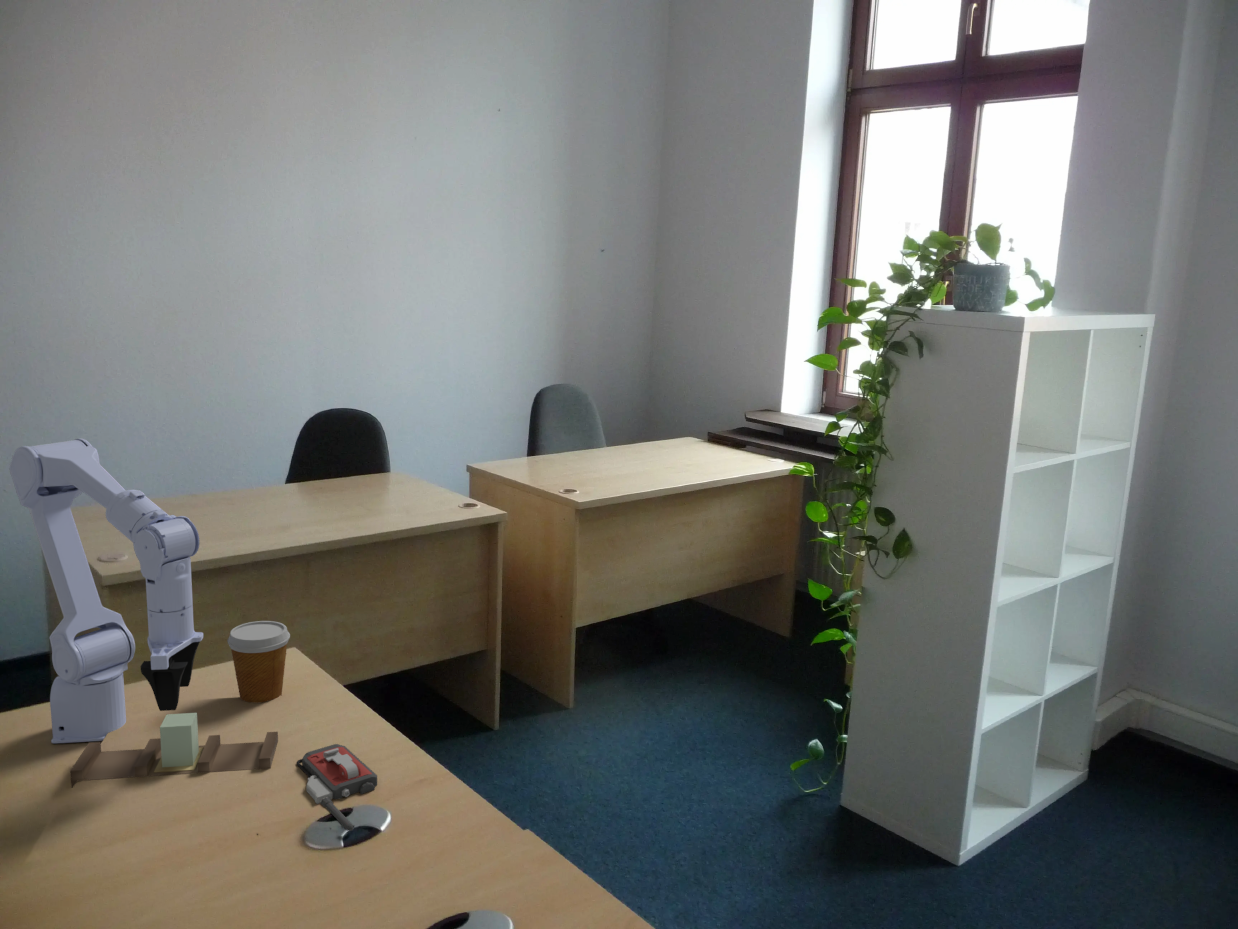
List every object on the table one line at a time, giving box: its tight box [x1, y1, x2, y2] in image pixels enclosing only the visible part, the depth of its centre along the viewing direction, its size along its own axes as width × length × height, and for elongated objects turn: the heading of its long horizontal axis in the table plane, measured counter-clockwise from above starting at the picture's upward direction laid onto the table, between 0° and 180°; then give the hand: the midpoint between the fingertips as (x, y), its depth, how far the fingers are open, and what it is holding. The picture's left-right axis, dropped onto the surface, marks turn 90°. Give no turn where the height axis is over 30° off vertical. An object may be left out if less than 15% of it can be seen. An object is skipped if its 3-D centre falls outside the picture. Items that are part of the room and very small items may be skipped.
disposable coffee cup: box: [227, 620, 291, 704], centre depth 158 cm, size 10×10×12 cm
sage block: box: [159, 712, 200, 767], centre depth 136 cm, size 4×4×6 cm
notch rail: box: [69, 731, 279, 789], centre depth 137 cm, size 26×8×2 cm, turn 102°
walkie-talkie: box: [296, 743, 378, 832], centre depth 131 cm, size 9×4×20 cm
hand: (174, 697), depth 137 cm, fingers open, 7 cm apart
